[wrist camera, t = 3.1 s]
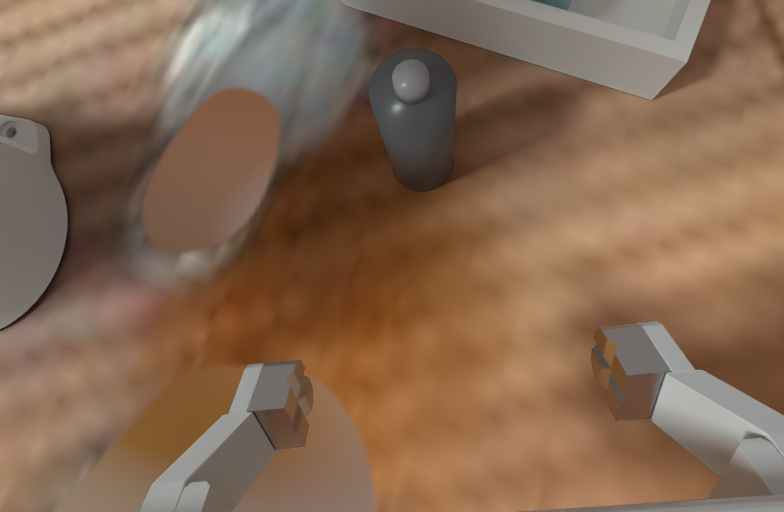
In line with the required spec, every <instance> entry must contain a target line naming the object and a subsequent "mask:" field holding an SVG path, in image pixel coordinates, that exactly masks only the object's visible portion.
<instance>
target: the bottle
mask: <svg viewBox="0 0 784 512" xmlns="http://www.w3.org/2000/svg"><path fill="white" fill-rule="evenodd" d="M456 89H457V85H456V78H455V75H454V72H453V70H452V68H451V67H450V65H449V64H448V63H447V62H446V61H445V60H444V59H443V58H442V57H440V56H439V55H437V54H435V53H433V52H431V51H428V50H423V49H407V50H403V51H400V52H397V53H395V54H393V55H391V56H389V57H388V58H386V59H385V60H384V61H383V62H382V63H381V64H380V65H379V66H378V67H377V69H376V70H375V72H374V74H373V76H372V78H371V81H370V85H369V99H370V103H371V106H372V109H373V112H374V115H375V118H376V121H377V124H378V127H379V130H380V133H381V136H382V139H383V142H384V145H385V148H386V151H387V154H388V157H389V160H390V163H391V166H392V169H393V172H394V175H395V177H396V178H397V180H398V181H399V182H400V183H401V184H402V185H403V186H404V187H406V188H408V189H410V190H413V191H419V192H424V191H430V190H433V189H435V188H437V187H439V186H440V185H441V184H443V183H444V182H445V181H446V179H447V178H448V176H449V174H450V172H451V169H452V163H453V144H454V126H455V107H456Z"/></svg>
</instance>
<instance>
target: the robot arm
mask: <svg viewBox="0 0 784 512" xmlns="http://www.w3.org/2000/svg"><path fill="white" fill-rule="evenodd" d="M66 235H67V208H66V202H65V197H64V194H63V191H62V188H61V186H60V183H59V181H58V179H57V177H56V175H55V173H54V171H53V168H52V165H51V162H50V137H49V133H48V130H47V129H46V127H45V126H43V125H41V124H39V123H36V122H33V121H31V120H28V119H22V118H16V117H11V116H5V115H0V329H1V328H3V327H5V326H7V325H9V324H10V323H12V322H13V321H15V320H16V319H18V318H19V317H20V316H21V315H23V314H24V313H25V312H26V311H27V310H28V309H29V308H30V307H31V306H32V305H33V304H34V303H35V302H36V301H37V300H38V299H39V297H40V296H41V295H42V294H43V292H44V291H45V289H46V288H47V286H48V285H49V283H50V282H51V280H52V278H53V276H54V274H55V272H56V270H57V268H58V265H59V263H60V260H61V257H62V254H63V250H64V247H65V242H66ZM594 339H595V341H596V343H597V345H596V346H595V347H594V348H593V349H592V354H591V361H592V368H593V372H594V375H595V377H596V379H597V382H598V384H599V385H601V386H602V387H604V388H605V389H607V392H606V397H605V399H606V401H607V403H608V405H609V407H610V409H611V411H612V413H613V415H614V417H615V420H616V421H619V420H636V419H651V421H652V422H653V423H655V424H656V425H657V426H658V427H659V428H661V429H662V430H663V431H664V432H665V433H667V434H668V435H669V436H670V437H671V438H673V439H674V440H675V441H676V442H678V443H679V444H680V445H681V446H682V447H684V448H685V449H686V450H687V451H688V452H690V453H691V454H692V455H693V456H694V457H696V458H697V459H698V460H699V461H700V462H702V463H703V464H704V465H705V466H706V467H708V468H709V469H710V470H711V471H712V472H714V473H715V474H716V475H717V476H718V477H720V478H719V480H718V482H717V484H716V486H715V487H714V489H713V491H712V493H711V495H710V497H709V499H704V500H689V501H674V502H658V503H643V504H628V505H613V506H597V507H582V508H566V509H551V510H535V511H519V512H784V415H782V414H780V413H778V412H777V411H775V410H773V409H771V408H770V407H768V406H766V405H764V404H762V403H761V402H759V401H757V400H755V399H754V398H752V397H750V396H748V395H746V394H745V393H743V392H741V391H739V390H737V389H736V388H734V387H732V386H730V385H729V384H727V383H725V382H723V381H721V380H720V379H718V378H716V377H714V376H713V375H711V374H709V373H707V372H705V371H704V370H695V368H694V367H693V366H692V364H691V363H690V362H689V360H688V359H687V358H686V356H685V355H684V353H683V352H682V351H681V349H680V348H679V347H678V345H677V344H676V343H675V341H674V340H673V338H672V337H671V336H670V334H669V333H668V332H667V330H666V329H665V328H664V326H663V325H662V324H661V323H660V322H658V321H654V322H645V323H637V324H635V323H634V324H625V325H617V326H608V327H600V328H597V329H596V331H595V335H594ZM304 370H305V367H304V365H303V363H302V361H301V360H294V361H281V362H269V363H259V364H249V365H248V366H247V367H246V369H245V370H244V373H243V376H242V379H241V381H240V384H239V387H238V389H237V392H236V395H235V397H234V400H233V403H232V406H231V408H230V411H229V414H226V415H223V416H222V417H221V418H220V419H219V420H218V421H216V422H215V423H214V424H213V425H212V426H211V427H210V428H209V429H208V430H207V431H206V432H205V433H204V434H203V435H202V436H201V437H200V438H199V439H198V440H197V441H196V442H195V443H194V444H193V445H192V446H191V447H190V448H189V449H188V450H187V451H186V452H185V453H184V454H182V455H181V456H180V457H179V458H178V459H177V460H176V461H175V462H174V463H173V464H172V465H171V466H170V467H169V468H168V469H167V470H166V471H165V472H164V473H163V474H162V475H161V476H160V477H159V478H158V479H157V480H156V481H155V482H154V483H153V484H152V486H151V488H150V490H149V492H148V494H147V496H146V498H145V501H144V503H143V505H142V507H141V509H140V511H139V512H233V511H234V509H235V508H236V506H237V505H238V504H239V502H240V501H241V500H242V498H243V497H244V495H245V494H246V493H247V491H248V490H249V489H250V487H251V486H252V484H253V483H254V481H255V480H256V479H257V477H258V476H259V475H260V473H261V472H262V470H263V469H264V468H265V466H266V465H267V463H268V462H269V461H270V459H271V458H272V457H273V455H274V454H275V453H276V451H275V450H283V449H292V448H300V447H305V443H306V438H307V433H308V427H309V424H308V422H307V420H306V417H307V416H308V414H309V413H310V412H311V411H312V406H313V389H312V384H311V381H310V379H309V378H308V377H307V376H305V375H304Z"/></svg>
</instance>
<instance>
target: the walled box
mask: <svg viewBox="0 0 784 512" xmlns="http://www.w3.org/2000/svg"><path fill="white" fill-rule="evenodd" d="M710 1H711V0H342V2H343V5H345V6H348V7H352V8H355V9H358V10H361V11H364V12H368V13H371V14H374V15H377V16H381V17H384V18H387V19H390V20H394V21H397V22H400V23H403V24H406V25H410V26H413V27H416V28H419V29H423V30H426V31H429V32H432V33H436V34H439V35H442V36H445V37H448V38H452V39H455V40H458V41H461V42H465V43H468V44H471V45H474V46H477V47H481V48H484V49H487V50H490V51H494V52H497V53H500V54H503V55H507V56H510V57H513V58H516V59H519V60H523V61H526V62H529V63H532V64H536V65H539V66H542V67H545V68H549V69H552V70H555V71H558V72H561V73H565V74H568V75H571V76H574V77H578V78H581V79H584V80H587V81H591V82H594V83H597V84H600V85H603V86H607V87H610V88H613V89H616V90H620V91H623V92H626V93H629V94H632V95H636V96H639V97H642V98H645V99H649V100H652V99H653V98H654V97H655V96H656V95H657V94H658V93H659V92H660V91H661V90H662V89H663V88H664V87H665V85H666V84H667V83H668V82H669V81H670V80H671V79H672V78H673V77H674V76H675V75H676V74H677V73H678V72H679V70H680V69H681V68H682V67H683V66H684V65H685V64H686V63H687V61H688V59H689V56H690V53H691V51H692V48H693V46H694V43H695V40H696V38H697V35H698V32H699V30H700V27H701V25H702V22H703V19H704V17H705V14H706V11H707V9H708V6H709V3H710Z"/></svg>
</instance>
